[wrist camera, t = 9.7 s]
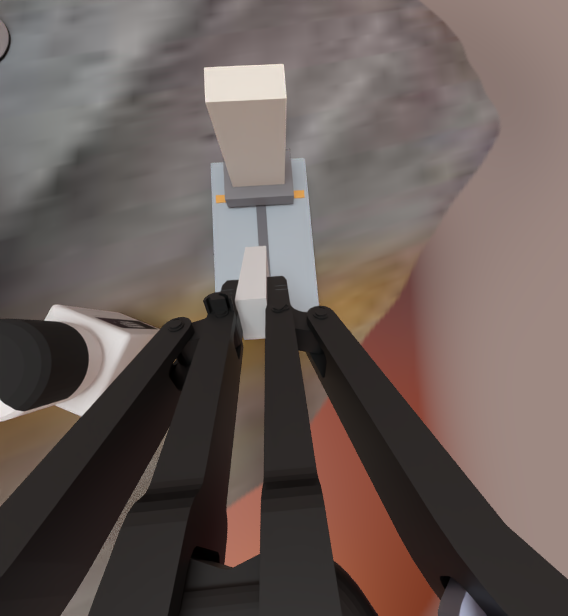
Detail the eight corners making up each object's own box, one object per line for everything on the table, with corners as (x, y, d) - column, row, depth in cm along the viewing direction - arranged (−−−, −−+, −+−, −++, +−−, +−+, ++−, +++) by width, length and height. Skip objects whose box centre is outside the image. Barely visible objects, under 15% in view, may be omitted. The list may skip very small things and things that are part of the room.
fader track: (222, 337, 26) (216, 337, 24) (215, 175, 29) (210, 162, 27) (318, 330, 26) (321, 329, 24) (303, 170, 29) (304, 157, 27)
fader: (228, 207, 26) (191, 121, 15) (226, 162, 26) (190, 51, 16) (293, 203, 26) (301, 115, 15) (289, 159, 27) (295, 46, 16)
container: (118, 311, 26) (-40, 290, 13) (174, 334, 26) (70, 335, 13) (88, 370, 25) (-111, 409, 12) (146, 394, 25) (5, 460, 12)
